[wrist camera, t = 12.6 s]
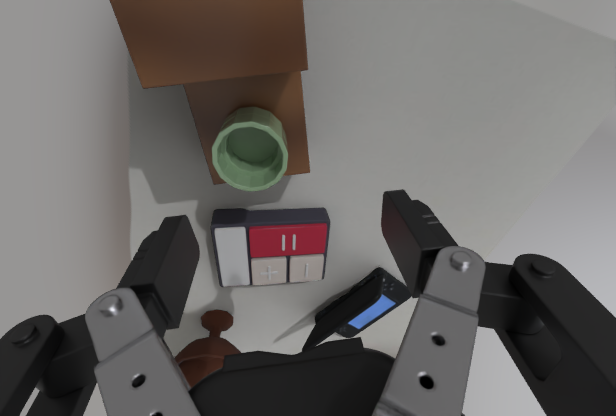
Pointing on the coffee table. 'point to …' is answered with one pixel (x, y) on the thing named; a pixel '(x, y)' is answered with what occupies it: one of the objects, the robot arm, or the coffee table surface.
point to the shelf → (224, 61)
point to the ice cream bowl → (207, 348)
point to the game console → (359, 307)
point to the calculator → (270, 245)
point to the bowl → (250, 149)
